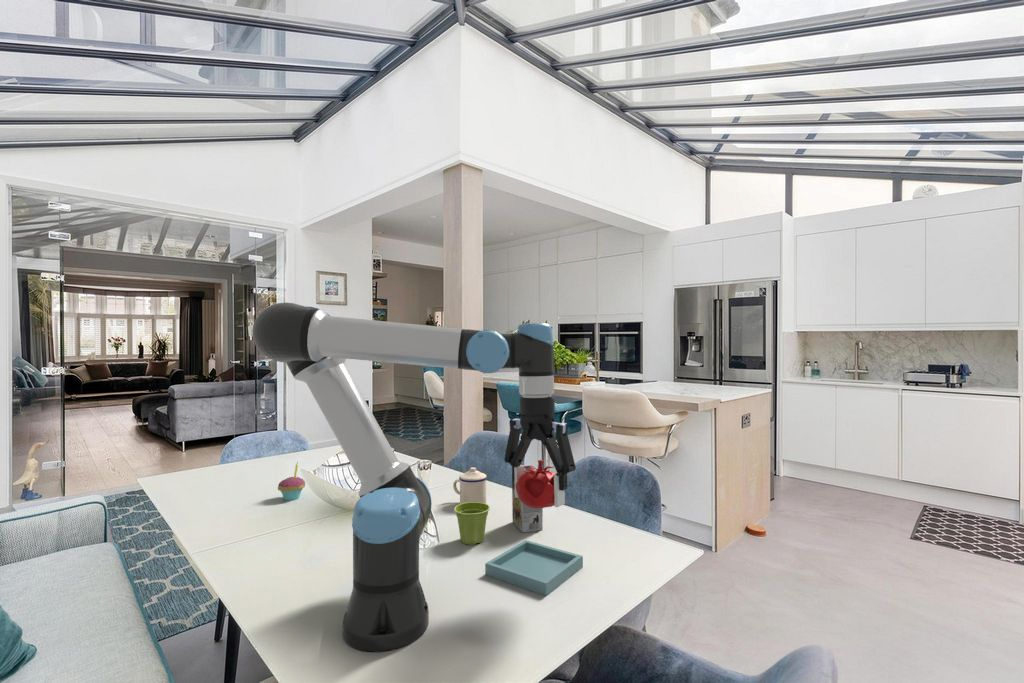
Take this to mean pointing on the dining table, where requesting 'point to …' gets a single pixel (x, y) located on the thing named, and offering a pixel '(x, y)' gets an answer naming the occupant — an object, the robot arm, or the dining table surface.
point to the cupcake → (291, 486)
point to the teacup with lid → (471, 486)
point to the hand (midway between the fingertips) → (539, 500)
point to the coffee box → (526, 513)
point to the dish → (534, 566)
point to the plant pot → (472, 521)
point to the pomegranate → (536, 487)
